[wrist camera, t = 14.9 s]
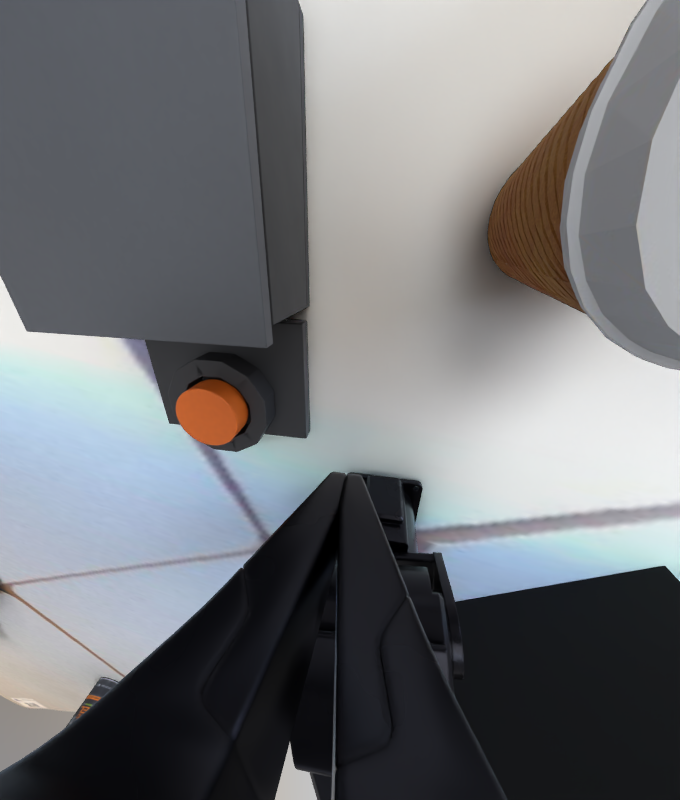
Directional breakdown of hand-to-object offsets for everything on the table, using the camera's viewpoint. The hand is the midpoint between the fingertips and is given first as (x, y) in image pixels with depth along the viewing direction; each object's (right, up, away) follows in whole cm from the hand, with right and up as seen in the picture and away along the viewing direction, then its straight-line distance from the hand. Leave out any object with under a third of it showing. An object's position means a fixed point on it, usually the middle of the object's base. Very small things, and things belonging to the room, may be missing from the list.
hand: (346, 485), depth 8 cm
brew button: (-9, +2, +12) cm, 15 cm away
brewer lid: (-9, +12, +3) cm, 15 cm away
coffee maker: (+18, -26, +25) cm, 40 cm away
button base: (-8, +4, +14) cm, 17 cm away
